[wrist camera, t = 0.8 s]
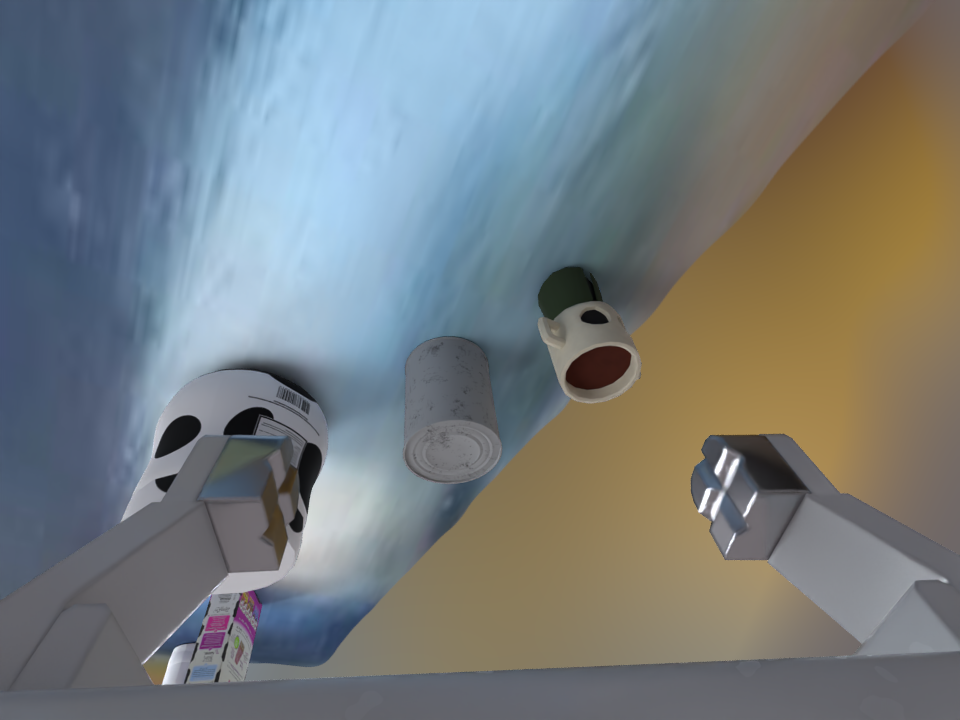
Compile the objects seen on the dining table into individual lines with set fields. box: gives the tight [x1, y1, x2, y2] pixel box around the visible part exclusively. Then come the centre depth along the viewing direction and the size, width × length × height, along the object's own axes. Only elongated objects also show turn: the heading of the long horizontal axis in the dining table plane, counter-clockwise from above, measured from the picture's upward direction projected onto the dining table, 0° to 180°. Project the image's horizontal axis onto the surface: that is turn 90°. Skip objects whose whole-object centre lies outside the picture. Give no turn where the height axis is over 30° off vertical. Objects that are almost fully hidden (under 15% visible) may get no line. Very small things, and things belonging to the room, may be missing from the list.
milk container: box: [121, 369, 328, 594], centre depth 53 cm, size 17×17×18 cm
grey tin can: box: [403, 337, 502, 484], centre depth 54 cm, size 10×10×12 cm
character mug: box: [538, 267, 642, 403], centre depth 48 cm, size 11×7×13 cm, turn 60°
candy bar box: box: [184, 590, 262, 684], centre depth 80 cm, size 11×5×16 cm, turn 178°
